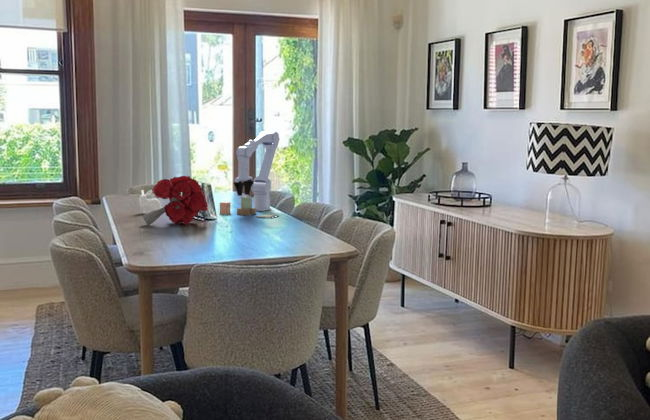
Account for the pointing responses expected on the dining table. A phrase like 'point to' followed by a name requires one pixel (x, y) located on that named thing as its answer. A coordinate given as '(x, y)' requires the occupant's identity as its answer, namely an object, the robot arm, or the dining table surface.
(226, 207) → the terracotta block
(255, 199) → the robot arm
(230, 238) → the dining table surface
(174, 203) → the bouquet
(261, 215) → the card
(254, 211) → the walnut slab
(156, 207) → the rabbit
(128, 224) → the dining table surface
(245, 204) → the sage block
